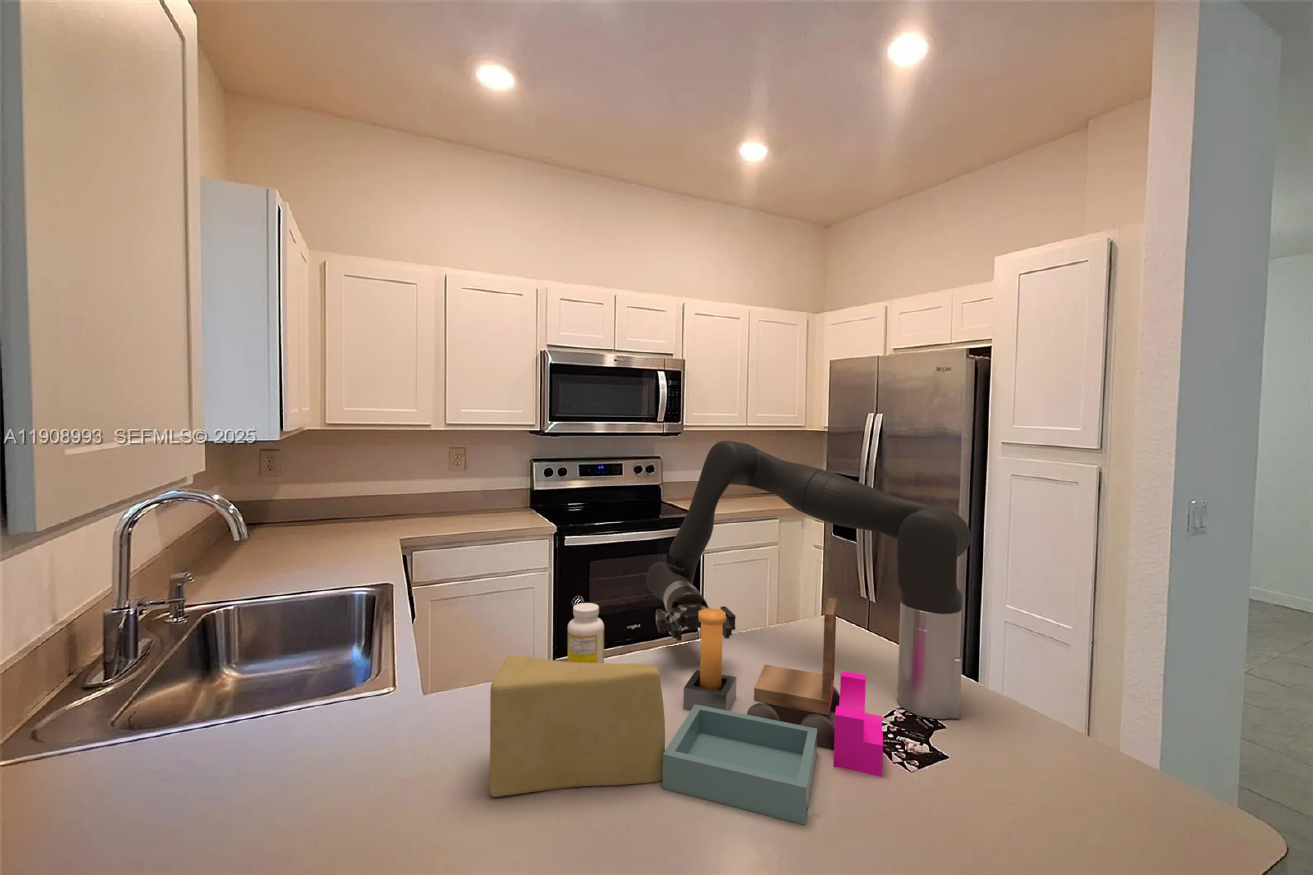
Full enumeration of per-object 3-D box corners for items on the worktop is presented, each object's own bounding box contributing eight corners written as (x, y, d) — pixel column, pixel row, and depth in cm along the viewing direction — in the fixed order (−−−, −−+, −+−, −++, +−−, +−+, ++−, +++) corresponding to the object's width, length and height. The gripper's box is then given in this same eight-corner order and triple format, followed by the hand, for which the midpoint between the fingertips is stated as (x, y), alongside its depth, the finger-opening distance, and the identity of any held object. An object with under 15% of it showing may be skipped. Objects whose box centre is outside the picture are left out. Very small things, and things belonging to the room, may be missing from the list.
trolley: (839, 715, 95) (843, 595, 94) (834, 756, 83) (838, 620, 82) (759, 699, 99) (762, 585, 98) (744, 737, 87) (747, 608, 87)
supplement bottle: (584, 664, 112) (585, 598, 111) (611, 674, 108) (612, 605, 107) (559, 677, 106) (560, 607, 106) (586, 687, 103) (587, 615, 102)
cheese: (663, 757, 82) (665, 652, 82) (665, 803, 73) (667, 684, 72) (506, 755, 82) (507, 650, 82) (486, 800, 72) (487, 682, 72)
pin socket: (735, 703, 98) (736, 677, 98) (725, 723, 91) (726, 695, 91) (695, 695, 100) (696, 669, 100) (683, 715, 94) (683, 687, 94)
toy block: (881, 778, 79) (883, 723, 78) (833, 767, 81) (835, 714, 80) (881, 723, 93) (882, 677, 92) (839, 716, 95) (841, 670, 94)
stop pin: (726, 699, 97) (728, 610, 96) (719, 712, 93) (721, 619, 92) (701, 694, 99) (702, 607, 98) (693, 706, 94) (695, 615, 94)
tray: (816, 760, 82) (817, 728, 82) (805, 825, 69) (806, 788, 69) (694, 733, 88) (694, 704, 88) (662, 788, 75) (663, 754, 75)
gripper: (649, 586, 115) (663, 614, 99) (719, 584, 118) (744, 611, 102) (649, 624, 116) (663, 657, 100) (718, 621, 118) (743, 653, 102)
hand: (704, 634), depth 101 cm, fingers open, 8 cm apart
